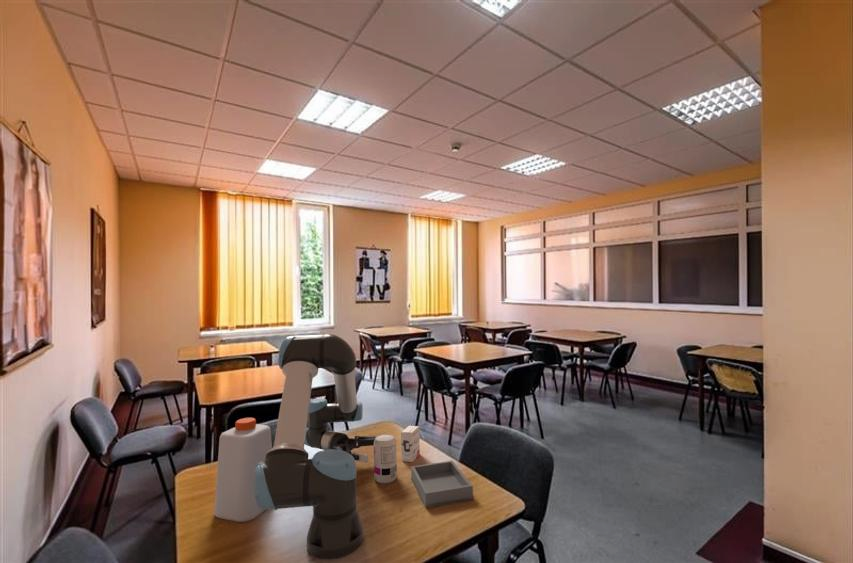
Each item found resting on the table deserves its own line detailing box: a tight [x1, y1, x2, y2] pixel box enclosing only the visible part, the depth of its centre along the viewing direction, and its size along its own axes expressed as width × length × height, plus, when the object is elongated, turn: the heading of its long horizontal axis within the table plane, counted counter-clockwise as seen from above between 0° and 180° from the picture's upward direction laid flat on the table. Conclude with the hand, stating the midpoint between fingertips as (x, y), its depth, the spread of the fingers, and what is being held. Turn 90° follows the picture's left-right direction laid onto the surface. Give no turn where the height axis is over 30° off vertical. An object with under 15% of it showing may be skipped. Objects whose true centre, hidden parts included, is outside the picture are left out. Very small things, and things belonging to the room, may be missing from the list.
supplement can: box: [373, 433, 398, 484], centre depth 141 cm, size 8×8×15 cm
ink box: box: [400, 425, 421, 463], centre depth 159 cm, size 8×5×12 cm, turn 160°
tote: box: [410, 460, 474, 509], centre depth 133 cm, size 20×16×4 cm
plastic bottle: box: [213, 417, 273, 523], centre depth 123 cm, size 15×15×28 cm
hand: (378, 451), depth 143 cm, fingers open, 13 cm apart
